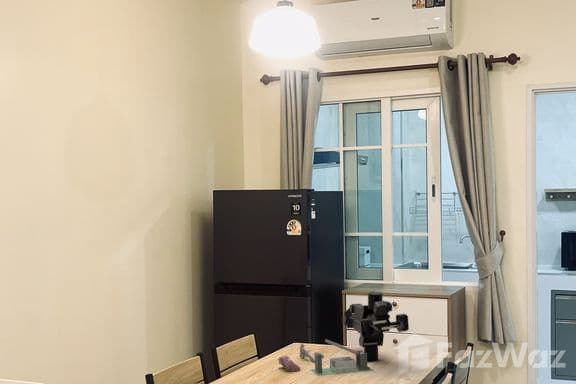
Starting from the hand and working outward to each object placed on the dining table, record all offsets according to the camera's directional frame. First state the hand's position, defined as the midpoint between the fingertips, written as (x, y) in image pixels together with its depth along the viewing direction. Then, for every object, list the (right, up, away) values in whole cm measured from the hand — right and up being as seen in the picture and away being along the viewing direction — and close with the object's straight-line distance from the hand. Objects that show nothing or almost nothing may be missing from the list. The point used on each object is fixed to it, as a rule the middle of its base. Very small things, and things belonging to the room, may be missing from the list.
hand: (391, 330), depth 246 cm
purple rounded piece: (-37, -18, +13) cm, 44 cm away
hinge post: (-10, -16, +11) cm, 22 cm away
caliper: (-29, -19, +27) cm, 43 cm away
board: (-18, -17, +9) cm, 26 cm away
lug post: (-26, -17, +7) cm, 32 cm away
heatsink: (-17, -17, +9) cm, 25 cm away
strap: (-17, -9, +9) cm, 21 cm away
